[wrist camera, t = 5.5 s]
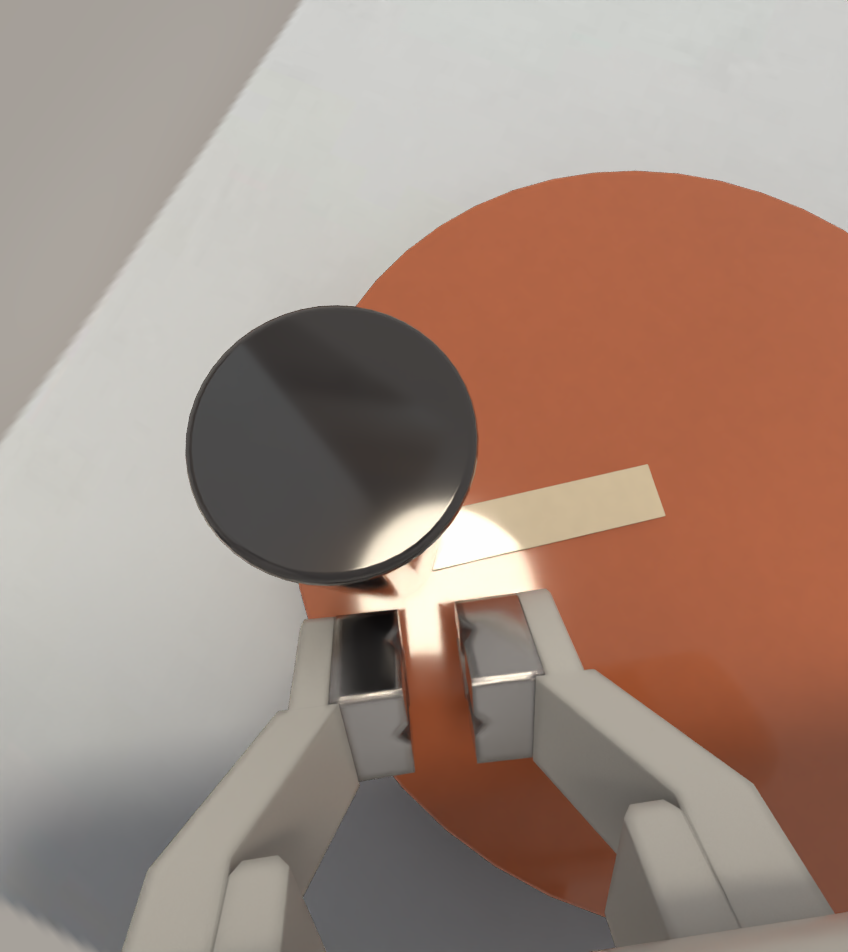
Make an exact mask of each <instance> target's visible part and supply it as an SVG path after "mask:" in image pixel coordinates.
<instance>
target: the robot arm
mask: <svg viewBox="0 0 848 952" xmlns="http://www.w3.org/2000/svg"><path fill="white" fill-rule="evenodd" d="M454 610H455V621H456V627H457V632H458V638H457V648H458V657H459V666H460V674H461V680H462V686H463V691H464V697H465V698H466V699H467V701H468V713H469V724H470V730H471V735H472V740H473V745H474V750H475V755H476V761H477V764H478V763H487V762H496V761H505V760H514V759H523V758H532V757H533V761H534V762H535V763H536V764H537V765H538V767H539V768H540V769H541V770H542V771H543V772H544V773H545V774H546V776H547V777H548V778H549V779H550V780H551V781H552V782H553V783H554V784H555V786H556V787H557V788H558V789H559V790H560V791H561V792H562V793H563V795H564V796H565V797H566V798H567V799H568V800H569V801H570V802H571V804H572V805H573V806H574V807H575V808H576V809H577V810H578V811H579V813H580V814H581V815H582V816H583V817H584V818H585V819H586V820H587V821H588V823H589V824H590V825H591V826H592V827H593V828H594V829H595V830H596V832H597V833H598V834H599V835H600V836H601V837H602V838H603V839H604V841H605V842H606V843H607V844H608V845H609V846H610V847H611V848H612V849H613V851H614V852H615V853H616V854H617V855H616V860H615V864H614V869H613V874H612V879H611V884H610V888H609V893H608V898H607V903H606V908H605V916H606V919H607V922H608V925H609V928H610V932H611V935H612V938H613V941H614V945H615V948H611V949H604V950H598V951H591V952H848V912H843V913H837V914H835V913H834V911H833V910H832V908H831V907H830V905H829V903H828V902H827V900H826V899H825V897H824V895H823V894H822V892H821V891H820V889H819V887H818V886H817V884H816V883H815V881H814V879H813V878H812V876H811V875H810V873H809V872H808V870H807V868H806V867H805V865H804V864H803V862H802V860H801V859H800V857H799V856H798V854H797V852H796V851H795V849H794V848H793V846H792V844H791V843H790V841H789V840H788V838H787V836H786V835H785V833H784V832H783V830H782V829H781V827H780V825H779V824H778V822H777V821H776V819H775V817H774V816H773V814H772V813H771V811H770V809H769V808H768V806H767V805H766V803H765V801H764V800H763V798H762V797H761V795H760V793H759V792H758V790H757V789H756V787H755V786H754V784H753V783H752V782H750V781H749V780H747V779H746V778H745V777H743V776H742V775H740V774H739V773H738V772H736V771H735V770H734V769H732V768H731V767H729V766H728V765H727V764H725V763H724V762H722V761H721V760H720V759H718V758H717V757H716V756H714V755H713V754H711V753H710V752H709V751H707V750H706V749H705V748H703V747H702V746H700V745H699V744H698V743H696V742H695V741H693V740H692V739H691V738H689V737H688V736H687V735H685V734H684V733H682V732H681V731H680V730H678V729H677V728H675V727H674V726H673V725H671V724H670V723H669V722H667V721H666V720H664V719H663V718H662V717H660V716H659V715H657V714H656V713H655V712H653V711H652V710H651V709H649V708H648V707H646V706H645V705H644V704H642V703H641V702H639V701H638V700H637V699H635V698H634V697H633V696H631V695H630V694H628V693H627V692H626V691H624V690H623V689H621V688H620V687H619V686H617V685H616V684H615V683H613V682H612V681H610V680H609V679H608V678H606V677H605V676H603V675H602V674H601V673H599V672H598V671H597V670H595V669H588V670H584V668H583V666H582V663H581V661H580V659H579V657H578V654H577V652H576V650H575V647H574V645H573V643H572V641H571V638H570V636H569V634H568V632H567V629H566V627H565V625H564V622H563V620H562V618H561V616H560V613H559V611H558V609H557V606H556V604H555V602H554V600H553V597H552V595H551V593H550V592H549V591H548V590H547V589H539V590H532V591H525V592H518V593H515V594H514V593H512V594H504V595H497V596H490V597H483V598H476V599H468V600H461V601H454ZM409 706H410V696H409V685H408V675H407V666H406V658H405V651H404V646H403V645H402V634H401V624H400V619H399V613H398V609H395V610H385V611H376V612H366V613H357V614H347V615H337V616H336V617H325V618H315V619H305V620H304V621H303V623H302V625H301V627H300V633H299V640H298V646H297V653H296V660H295V666H294V673H293V680H292V686H291V693H290V700H289V706H288V710H285V711H278V712H277V713H276V714H275V716H274V717H273V718H272V719H271V720H270V722H269V723H268V724H267V725H266V727H265V728H264V729H263V730H262V731H261V733H260V734H259V735H258V736H257V738H256V739H255V740H254V741H253V742H252V744H251V745H250V746H249V747H248V748H247V750H246V751H245V752H244V753H243V755H242V756H241V757H240V758H239V759H238V761H237V762H236V763H235V764H234V765H233V767H232V768H231V769H230V770H229V772H228V773H227V774H226V775H225V776H224V778H223V779H222V780H221V781H220V783H219V784H218V785H217V786H216V787H215V789H214V790H213V791H212V792H211V793H210V795H209V796H208V797H207V798H206V800H205V801H204V802H203V803H202V804H201V806H200V807H199V808H198V809H197V810H196V812H195V813H194V814H193V815H192V817H191V818H190V819H189V820H188V821H187V823H186V824H185V825H184V826H183V828H182V829H181V830H180V831H179V832H178V834H177V835H176V836H175V837H174V838H173V840H172V841H171V842H170V843H169V845H168V846H167V847H166V848H165V849H164V851H163V852H162V853H161V854H160V856H159V857H158V858H157V859H156V860H155V862H154V863H153V864H152V865H151V866H150V868H149V869H148V870H147V873H146V876H145V879H144V883H143V886H142V889H141V892H140V895H139V898H138V901H137V905H136V908H135V911H134V914H133V917H132V920H131V923H130V926H129V930H128V933H127V936H126V939H125V942H124V945H123V948H122V952H326V950H325V947H324V945H323V943H322V940H321V938H320V936H319V934H318V931H317V929H316V927H315V924H314V922H313V920H312V917H311V915H310V913H309V911H308V908H307V906H306V904H305V901H304V899H303V896H304V894H305V892H306V890H307V888H308V886H309V884H310V882H311V880H312V878H313V876H314V874H315V873H316V871H317V869H318V867H319V865H320V863H321V861H322V859H323V857H324V855H325V853H326V851H327V849H328V847H329V845H330V843H331V841H332V839H333V837H334V835H335V833H336V831H337V829H338V827H339V825H340V823H341V821H342V820H343V818H344V816H345V814H346V812H347V810H348V808H349V806H350V804H351V802H352V800H353V798H354V796H355V794H356V792H357V790H358V788H359V786H360V785H359V782H361V781H367V780H373V779H379V778H385V777H391V776H396V775H402V774H408V773H414V772H415V761H414V747H413V733H412V725H411V718H410V711H409Z"/></svg>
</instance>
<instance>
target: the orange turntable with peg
mask: <svg viewBox="0 0 848 952" xmlns="http://www.w3.org/2000/svg"><path fill="white" fill-rule="evenodd" d="M186 465H187V474H188V478H189V482H190V486H191V490H192V493H193V496H194V498H195V501H196V503H197V506H198V508H199V510H200V512H201V514H202V515H203V517H204V519H205V521H206V522H207V524H208V526H209V527H210V528H211V529H212V531H213V532H214V533H215V534H216V536H217V537H218V538H219V539H220V541H221V542H222V543H224V544H225V545H226V546H227V547H228V548H229V549H230V550H231V551H232V552H233V553H234V554H235V555H237V556H238V557H240V558H241V559H243V560H244V561H245V562H247V563H248V564H250V565H251V566H253V567H255V568H257V569H259V570H261V571H263V572H265V573H267V574H269V575H272V576H275V577H278V578H281V579H284V580H286V581H291V582H296V583H299V589H300V592H301V596H302V599H303V603H304V606H305V610H306V613H307V617H308V619H315V618H325V617H336V616H337V615H347V614H357V613H366V612H376V611H385V610H395V609H398V613H399V619H400V624H401V634H402V645H403V646H404V651H405V658H406V666H407V675H408V685H409V696H410V706H409V711H410V718H411V725H412V733H413V747H414V761H415V772H414V773H408V774H402V775H396V776H393V777H394V778H395V779H396V781H397V782H398V783H399V784H400V786H401V787H402V788H403V789H404V790H405V791H406V792H407V793H408V794H409V795H410V796H411V797H412V798H413V799H414V800H415V801H416V802H417V803H418V804H419V805H420V806H421V807H422V808H423V809H424V810H425V811H426V812H428V813H429V814H430V815H431V816H432V817H433V818H434V819H435V820H436V821H437V822H438V823H439V824H440V825H441V826H442V827H443V828H444V829H445V830H446V831H447V832H449V833H450V834H452V835H453V836H454V837H456V838H457V839H458V840H460V841H461V842H462V843H464V844H465V845H466V846H468V847H469V848H470V849H472V850H473V851H474V852H476V853H477V854H479V855H480V856H481V857H483V858H484V859H485V860H487V861H488V862H489V863H491V864H492V865H493V866H495V867H496V868H498V869H500V870H502V871H504V872H506V873H507V874H509V875H511V876H513V877H515V878H517V879H518V880H520V881H522V882H524V883H526V884H528V885H529V886H531V887H533V888H535V889H537V890H539V891H540V892H542V893H544V894H546V895H548V896H550V897H552V898H555V899H558V900H560V901H563V902H566V903H568V904H571V905H574V906H576V907H579V908H582V909H584V910H587V911H590V912H592V913H595V914H598V915H600V916H603V917H606V916H605V908H606V903H607V898H608V893H609V888H610V884H611V879H612V874H613V869H614V864H615V860H616V855H617V854H616V853H615V852H614V851H613V849H612V848H611V847H610V846H609V845H608V844H607V843H606V842H605V841H604V839H603V838H602V837H601V836H600V835H599V834H598V833H597V832H596V830H595V829H594V828H593V827H592V826H591V825H590V824H589V823H588V821H587V820H586V819H585V818H584V817H583V816H582V815H581V814H580V813H579V811H578V810H577V809H576V808H575V807H574V806H573V805H572V804H571V802H570V801H569V800H568V799H567V798H566V797H565V796H564V795H563V793H562V792H561V791H560V790H559V789H558V788H557V787H556V786H555V784H554V783H553V782H552V781H551V780H550V779H549V778H548V777H547V776H546V774H545V773H544V772H543V771H542V770H541V769H540V768H539V767H538V765H537V764H536V763H535V762H534V761H533V757H532V758H523V759H514V760H505V761H496V762H487V763H478V764H477V761H476V755H475V750H474V745H473V740H472V735H471V730H470V724H469V713H468V701H467V699H466V698H465V697H464V691H463V686H462V680H461V674H460V666H459V657H458V648H457V638H458V632H457V627H456V621H455V610H454V601H461V600H468V599H476V598H483V597H490V596H497V595H504V594H512V593H514V594H515V593H518V592H525V591H532V590H539V589H547V590H548V591H549V592H550V593H551V595H552V597H553V600H554V602H555V604H556V606H557V609H558V611H559V613H560V616H561V618H562V620H563V622H564V625H565V627H566V629H567V632H568V634H569V636H570V638H571V641H572V643H573V645H574V647H575V650H576V652H577V654H578V657H579V659H580V661H581V663H582V666H583V668H584V670H588V669H595V670H597V671H598V672H599V673H601V674H602V675H603V676H605V677H606V678H608V679H609V680H610V681H612V682H613V683H615V684H616V685H617V686H619V687H620V688H621V689H623V690H624V691H626V692H627V693H628V694H630V695H631V696H633V697H634V698H635V699H637V700H638V701H639V702H641V703H642V704H644V705H645V706H646V707H648V708H649V709H651V710H652V711H653V712H655V713H656V714H657V715H659V716H660V717H662V718H663V719H664V720H666V721H667V722H669V723H670V724H671V725H673V726H674V727H675V728H677V729H678V730H680V731H681V732H682V733H684V734H685V735H687V736H688V737H689V738H691V739H692V740H693V741H695V742H696V743H698V744H699V745H700V746H702V747H703V748H705V749H706V750H707V751H709V752H710V753H711V754H713V755H714V756H716V757H717V758H718V759H720V760H721V761H722V762H724V763H725V764H727V765H728V766H729V767H731V768H732V769H734V770H735V771H736V772H738V773H739V774H740V775H742V776H743V777H745V778H746V779H747V780H749V781H750V782H752V783H753V784H754V786H755V787H756V789H757V790H758V792H759V793H760V795H761V797H762V798H763V800H764V801H765V803H766V805H767V806H768V808H769V809H770V811H771V813H772V814H773V816H774V817H775V819H776V821H777V822H778V824H779V825H780V827H781V829H782V830H783V832H784V833H785V835H786V836H787V838H788V840H789V841H790V843H791V844H792V846H793V848H794V849H795V851H796V852H797V854H798V856H799V857H800V859H801V860H802V862H803V864H804V865H805V867H806V868H807V870H808V872H809V873H810V875H811V876H812V878H813V879H814V881H815V883H816V884H817V886H818V887H819V889H820V891H821V892H822V894H823V895H824V897H825V899H826V900H827V902H828V903H829V905H830V907H831V908H832V910H833V911H834V913H835V914H837V913H843V912H848V233H847V232H846V231H844V230H843V229H841V228H839V227H837V226H835V225H833V224H831V223H829V222H827V221H825V220H823V219H822V218H820V217H818V216H816V215H814V214H812V213H810V212H808V211H806V210H804V209H802V208H799V207H797V206H794V205H792V204H789V203H787V202H784V201H782V200H779V199H777V198H774V197H772V196H769V195H767V194H764V193H762V192H758V191H755V190H751V189H748V188H744V187H740V186H737V185H733V184H730V183H726V182H723V181H719V180H713V179H707V178H701V177H696V176H690V175H684V174H678V173H663V172H648V171H618V172H596V173H588V174H582V175H575V176H569V177H563V178H557V179H551V180H548V181H544V182H541V183H537V184H534V185H530V186H526V187H523V188H519V189H516V190H512V191H510V192H508V193H505V194H503V195H500V196H498V197H496V198H493V199H491V200H488V201H486V202H484V203H481V204H479V205H476V206H474V207H472V208H471V209H469V210H467V211H465V212H464V213H462V214H460V215H458V216H457V217H455V218H453V219H451V220H450V221H448V222H446V223H444V224H443V225H441V226H439V227H438V228H436V229H435V230H434V231H432V232H431V233H430V234H428V235H427V236H426V237H424V238H423V239H422V240H420V241H419V242H418V243H416V244H415V245H414V246H412V247H411V248H410V249H408V250H407V251H406V252H405V253H404V254H403V255H402V256H401V257H400V258H399V259H398V260H397V261H396V262H395V263H394V264H393V265H392V266H390V267H389V268H388V269H387V270H386V271H385V272H384V273H383V274H382V275H381V276H380V277H379V278H378V279H377V280H376V281H375V283H374V284H373V285H372V286H371V288H370V289H369V290H368V291H367V293H366V294H365V295H364V297H363V298H362V299H361V300H360V302H359V303H358V304H357V306H356V307H354V306H339V305H335V306H318V307H312V308H306V309H301V310H298V311H294V312H291V313H287V314H284V315H282V316H279V317H277V318H275V319H272V320H270V321H268V322H266V323H264V324H262V325H261V326H259V327H257V328H255V329H253V330H252V331H250V332H249V333H248V334H246V335H245V336H244V337H242V338H241V339H240V340H238V341H237V342H236V343H235V344H234V345H233V346H232V347H231V348H230V349H228V350H227V351H226V352H225V353H224V354H223V356H222V357H221V358H220V359H219V360H218V362H217V363H216V364H215V365H214V366H213V368H212V369H211V371H210V372H209V374H208V375H207V377H206V378H205V380H204V382H203V383H202V385H201V388H200V390H199V392H198V394H197V396H196V398H195V401H194V404H193V407H192V410H191V413H190V416H189V422H188V428H187V433H186Z"/></svg>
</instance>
